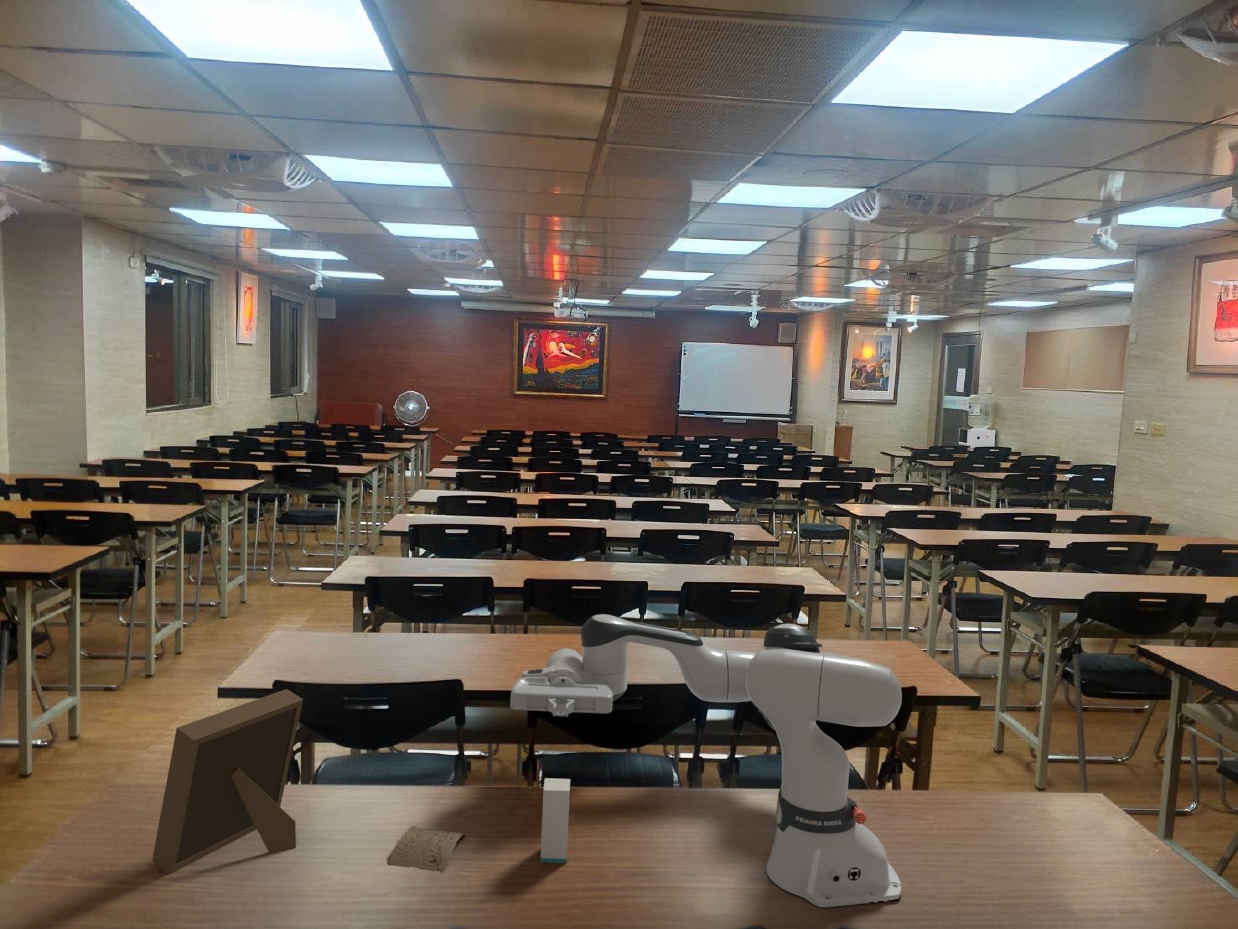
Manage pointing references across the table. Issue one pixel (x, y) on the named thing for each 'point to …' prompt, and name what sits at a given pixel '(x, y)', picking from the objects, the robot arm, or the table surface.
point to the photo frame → (229, 781)
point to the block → (555, 820)
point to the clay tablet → (424, 849)
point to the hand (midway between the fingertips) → (560, 712)
